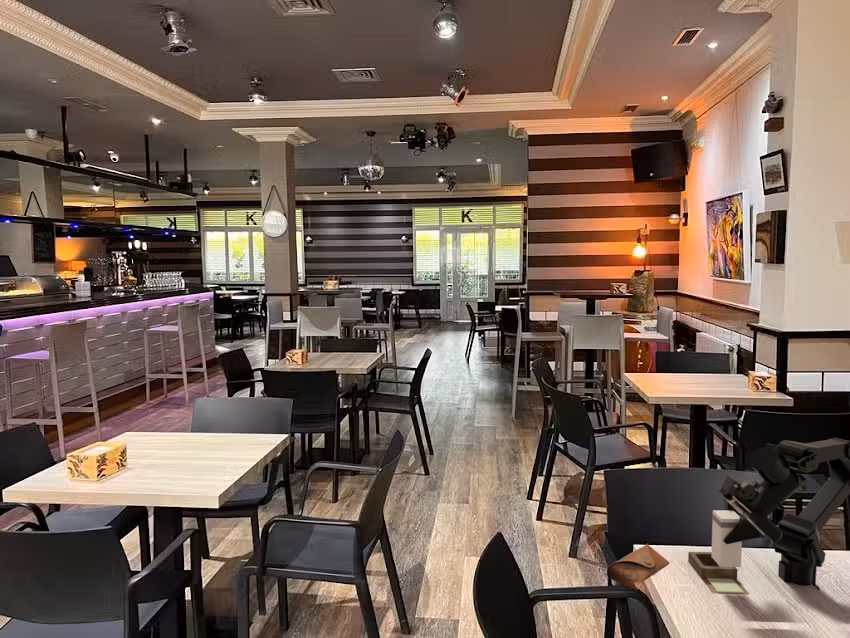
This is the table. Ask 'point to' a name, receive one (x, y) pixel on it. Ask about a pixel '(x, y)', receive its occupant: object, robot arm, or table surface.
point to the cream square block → (720, 529)
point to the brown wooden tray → (712, 570)
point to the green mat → (724, 585)
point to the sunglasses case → (636, 566)
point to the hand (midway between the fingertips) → (720, 537)
